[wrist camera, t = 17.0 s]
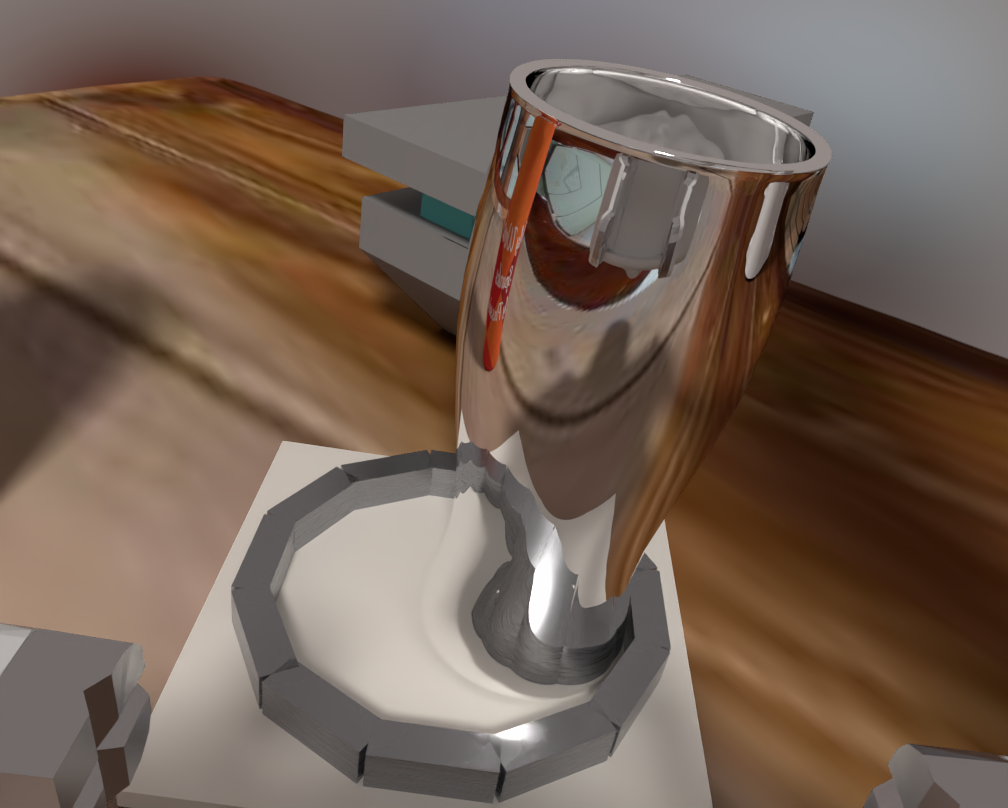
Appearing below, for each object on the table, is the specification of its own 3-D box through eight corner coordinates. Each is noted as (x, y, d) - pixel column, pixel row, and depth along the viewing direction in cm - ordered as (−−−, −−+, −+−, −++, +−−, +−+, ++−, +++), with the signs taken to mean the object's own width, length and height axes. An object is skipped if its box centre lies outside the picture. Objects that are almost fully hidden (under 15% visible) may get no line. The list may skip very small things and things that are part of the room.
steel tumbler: (385, 540, 27) (463, 39, 19) (587, 528, 29) (736, 77, 21) (431, 734, 21) (567, 151, 13) (674, 701, 24) (919, 187, 16)
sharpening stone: (642, 252, 54) (685, 74, 49) (752, 299, 50) (813, 112, 45) (332, 369, 37) (344, 114, 31) (464, 454, 33) (504, 181, 27)
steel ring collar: (638, 507, 31) (646, 481, 30) (680, 828, 20) (693, 799, 20) (301, 458, 30) (301, 430, 30) (170, 760, 20) (166, 727, 19)
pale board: (656, 508, 32) (660, 496, 32) (716, 885, 20) (723, 870, 20) (282, 453, 31) (282, 440, 31) (117, 806, 20) (114, 790, 19)
